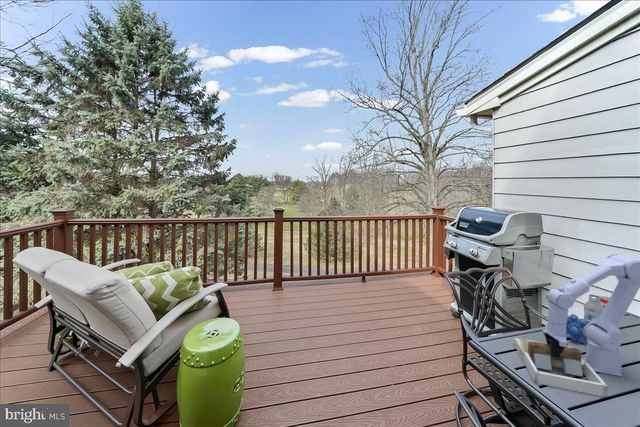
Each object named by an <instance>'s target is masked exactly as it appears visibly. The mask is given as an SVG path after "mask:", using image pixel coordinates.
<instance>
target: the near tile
mask: <svg viewBox="0 0 640 427" xmlns="http://www.w3.org/2000/svg"><path fill="white" fill-rule="evenodd" d="M561 360H562V366H563V370H562V371H563V374H564V375H570V376H574V377H579V378H580V377H584V373H583V372H582V369H581V364H580V361H576V360H570V359H565V358H563V359H561Z"/></svg>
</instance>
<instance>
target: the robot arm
mask: <svg viewBox="0 0 640 427" xmlns="http://www.w3.org/2000/svg"><path fill="white" fill-rule="evenodd" d="M610 276H614V277H615V278H616V280H617V281H618V282H617V284H616V286H615V288H614V290H613V292H612V293H611V296H610V297H609V298H610V299H609V301H608V303H607V304H606V306H605V308H604V310H603V312H602V314H601V315H600V317H599V318H596V319H592V320H591V321H590V323H589V324H587V325H586V326H585V327H584V329H583V333H584V335H585V336H586V337H587V339H586V340H587V343H586V353H585V357H581V359H582V360H583V362H584V363H588V364H589V366H590V367H591V368H592V369H593V370H594V371H595V372H596V373H601V374H608V375H613V376H618V377H622V376H623V375H622V374H621V373H622V366H623V354H622V351H621V350H620V346H621V345H622V338H623V336H624V334H623V333H622V331H621V329H620V327H619V326H620V325H621V322H622V321H623V319H624V317H625V315H626V314H627V311H628V310H629V308H630V306H631V304H632V302H633V301H634V299H635V297H636V296H637V293H638V291H639V290H640V260H639V259H634V258H629V257H626V256H622V255H619V254H617V253H612V254H609V255H607V256H606V257H603V258H602V259H601V262H600V264H599V265H597V266H596V267H595V268H593V269H592V270H591V271H589V272H587V273H586V275H584V276H583V277H581V278H580V277H579V278H578V277H575V278H570V279H569V281H568V282H566V283H565V284H564V285H562V286H560V287H558V288H553V289H551V290H549V291H548V292H547V294H545V298H546V301H547V302H548V312H547V321H546V322H545V324H544V325H545V326H544V327H545V328H543V329H542V332H543V335H544V337H545V340H546V342H545V343H547V344H550V345H551V355H552V357H556V358H559V357H560V355H561V353H562V351H563V349H564V348H565V347H567V346H568V347H569V344H568V341H567V334H566V326H567V317H568V316H569V315H568V314H569V308H572V307H573V306H574V303H575V302H576V301H577V299H578V298H580V297H583V295H585V294H586V293H588V292H589V291H590V290H591V289H590V287H592V286H593V285H595V284H596V283H599V282H601V281H602V280H604V279H606V278H608V277H610ZM603 328H604V329H603ZM605 329H606V330H605Z"/></svg>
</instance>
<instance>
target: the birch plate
mask: <svg viewBox="0 0 640 427" xmlns="http://www.w3.org/2000/svg"><path fill="white" fill-rule="evenodd" d="M529 341H532V342H539V343H545V344H547V342H544V341H538V340H537V341H536V340H529V339H525V338H519V337H514V343H513V345H514V347H515V348H516V350H517V352H518V355H519V356H520V357H521V360H522V361H523V360H524V352H526V353H528V344H529ZM567 347H569V348H572V347H571V346H569V345H568V346H567ZM528 355H529V356H530V354H529V353H528ZM530 358H531V360H532V362H533V363H534V360H533V356H530ZM583 367H584V362H583V360H582V359H581V369H582V373H583ZM551 368H557V369H561V370H562V369H563V366H562V361H558V360H552V359H551Z"/></svg>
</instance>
